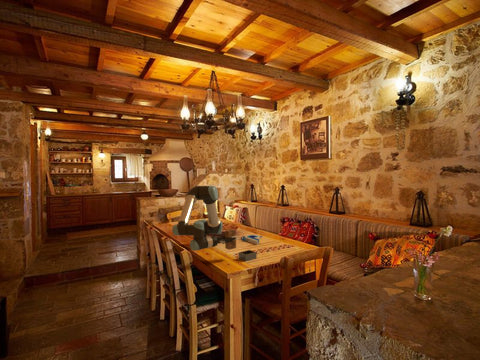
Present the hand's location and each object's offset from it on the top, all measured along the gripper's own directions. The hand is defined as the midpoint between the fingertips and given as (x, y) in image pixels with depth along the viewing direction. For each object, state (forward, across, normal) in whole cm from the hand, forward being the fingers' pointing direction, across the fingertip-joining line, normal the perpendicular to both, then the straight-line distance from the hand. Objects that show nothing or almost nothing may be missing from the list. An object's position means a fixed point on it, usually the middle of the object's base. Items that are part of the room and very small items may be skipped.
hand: (236, 236), depth 206 cm
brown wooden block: (-5, 0, -8) cm, 10 cm away
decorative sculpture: (+45, -32, -18) cm, 58 cm away
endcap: (+6, +7, -17) cm, 19 cm away
